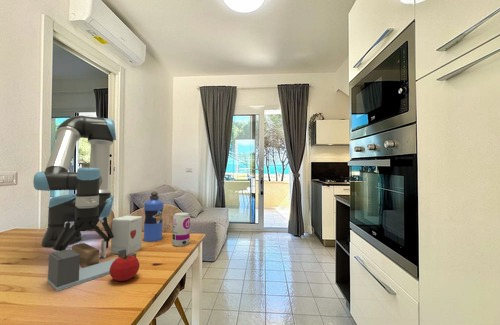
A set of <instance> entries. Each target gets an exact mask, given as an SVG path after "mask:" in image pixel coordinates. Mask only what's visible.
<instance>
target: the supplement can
mask: <svg viewBox="0 0 500 325" xmlns="http://www.w3.org/2000/svg"><path fill="white" fill-rule="evenodd" d="M172 217H173V218H172V238H171V239H172V240H171V242H172V243H171V244H172V245H173V246H174V247H184V246H188V245H189V243H190V239H191V237H190V236H191V215H190V213H189V212H185V211H183V212H175V213H174V215H173V216H172Z"/></svg>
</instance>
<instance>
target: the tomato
mask: <svg viewBox="0 0 500 325" xmlns="http://www.w3.org/2000/svg"><path fill="white" fill-rule="evenodd" d="M114 259H115V260H114V261H113V263H112V264H111V267H110V274H109V276H110V277H111V278H112V279H113V280H115V281H117V282H125V281H128V280H131V279H132V278H133V277H134V276H136V275H137V273H138V272H139V269H140V261H139V259H138V258H137V256H136V257H135V256H131V255H130V254H129V255H125V256H120V257H119V258H118V257H117V259H116V258H114Z"/></svg>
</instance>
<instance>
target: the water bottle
mask: <svg viewBox="0 0 500 325" xmlns="http://www.w3.org/2000/svg"><path fill="white" fill-rule="evenodd" d="M159 198H160V197H159V193H158V191H152V192H151V193H150V196H149V200H148V201H146V202H144V205H143V207H144V223H143V238H142V239H143V240H142V241H144V242H146V241H147V243H153V241H155V242H158V241H159V242H160V241H161V240H162V239H163V224H164V223H163V212H164V202H163V201H161V200H159Z"/></svg>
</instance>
